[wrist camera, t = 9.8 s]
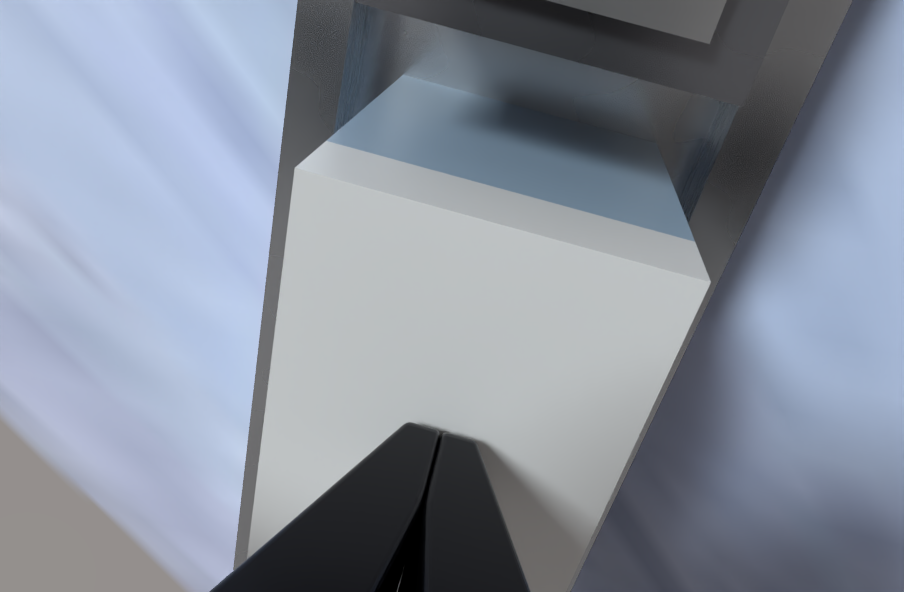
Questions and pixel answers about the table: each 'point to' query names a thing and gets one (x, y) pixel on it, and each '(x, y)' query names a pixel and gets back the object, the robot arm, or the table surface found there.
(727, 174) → the din rail
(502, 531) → the robot arm
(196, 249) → the table surface
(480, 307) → the block
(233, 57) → the table surface
